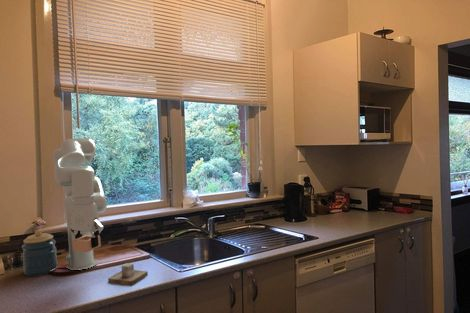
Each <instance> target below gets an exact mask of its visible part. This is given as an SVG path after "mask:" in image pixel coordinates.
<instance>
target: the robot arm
mask: <svg viewBox="0 0 470 313" xmlns="http://www.w3.org/2000/svg"><path fill="white" fill-rule="evenodd" d="M96 148H97V147H96V144H95V141H94V140H93V139H92V138H90V137H79V138H77V137H76V138H67V139H65V140H63V141H62V142H61V144H60V147H59V148H56V149H55V150H54V151H53V153H52V162H53V165H54V166H53V168H54V169H53V170H54V171H53V173H54V179H55V182H56V184H57V185H58V186H60V187H63V191H64V194H65V196H66V197H65V198H64V199H63V202H62V203H63V204H62V206H63V211H64V215H65V219H66V220H65V221H66V227H67V236H68V237H67V240H68V250H69V251H68V252H69V254H67V255H66V257H64V261H65V262H68V263H67V265H66V269H67V268H68V269H71V270H79V269H86V270H89V269H92V268H94V267H95V265H96V266H97V265H98V263H99V261H98V259H96V258H94V250H91V251H89V252H82V251H73V241H72V240H74V239H77V238H80V237H82V236H84V235H91V236H92V238H91V245H92V248H94V247H97V246H98V245H99V243H98V236H100V234H102V231H103V230H104V229H105V228H104V225H102V223H101V222H100V218H99V214H102V213H104V212H105V211H106V210H107V209H108V208H107V207H108V204H107V197H106V193H105V191H104V187H103V184H102V181H101V179H100V178H99V177H98V176H95V174H96V173H95V170H94V168H93V167H92V166H90V165H84V164H88V163H92V161H93V159H94V157H95V156H96V150H97V149H96ZM93 266H94V267H93ZM91 267H92V268H91ZM88 268H89V269H88ZM68 269H67V270H68Z"/></svg>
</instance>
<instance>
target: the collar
mask: <svg viewBox="0 0 470 313" xmlns="http://www.w3.org/2000/svg"><path fill="white" fill-rule="evenodd" d="M91 238H92V236H91V235H84V236H82V237H80V238H77V239H74V240H72V241H73V251H82V252H89V251H91V250H93V251H94V250H95V249H98V248H100V247H102V243H101V241H102V240H101V236H100V235H99V236H98V243H99V245H98V246H97V247H94V248H92V245H91Z"/></svg>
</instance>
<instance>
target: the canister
mask: <svg viewBox="0 0 470 313" xmlns="http://www.w3.org/2000/svg"><path fill="white" fill-rule="evenodd" d="M56 242H57V241H56V240H55V239H54V235H52V234H50V233H47V232H43V233H42V231H41V230H35V231H34V234H31V235H28V236H27V237H26V238H24V239H23V244H22V245H21V249H22V250H23V253H22V260H23V261H22V262H23V273H24V275H25V276H27V277H37V276H43V275H44V276H45V275H47V274H50V273H51V272H50V270H52V269H54V268H56V267H57V268H58V266H59V263H58V257H57V247H56V245H55V244H56ZM49 272H50V273H49Z"/></svg>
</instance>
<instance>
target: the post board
mask: <svg viewBox="0 0 470 313" xmlns="http://www.w3.org/2000/svg"><path fill="white" fill-rule="evenodd" d="M120 267H121V271H119V272H117V273H115V274H113V275H112V276H110V277H108V278H107V279H108V280H107V282H108V283H111V284H120V285H128V286H133V285H135V284H136V283H138V282H140V281H141V280H142V279H144V278H146V277H147V276H148V272H149V271H147V270H138V269H137V270H136V269H135V267H134V263H129V262H128V263H127V262H126V263H124V264H122V265H121V266H120Z"/></svg>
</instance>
